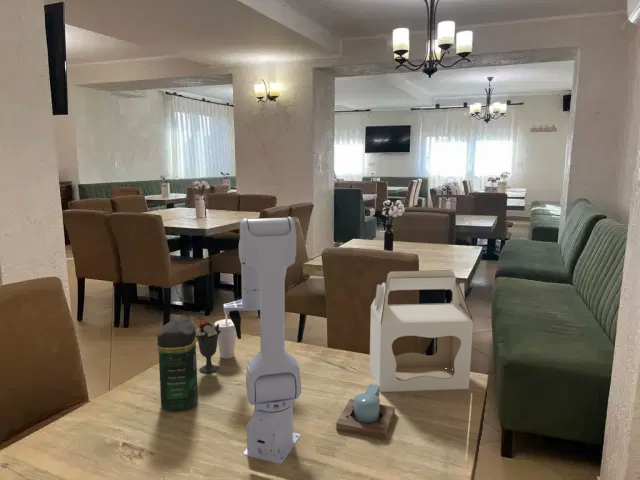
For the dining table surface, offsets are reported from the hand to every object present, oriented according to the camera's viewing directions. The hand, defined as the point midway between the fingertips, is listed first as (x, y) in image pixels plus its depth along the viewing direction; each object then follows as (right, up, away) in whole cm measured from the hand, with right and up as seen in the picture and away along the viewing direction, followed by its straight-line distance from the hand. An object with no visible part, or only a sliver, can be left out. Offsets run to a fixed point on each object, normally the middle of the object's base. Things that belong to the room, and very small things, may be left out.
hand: (253, 334), depth 117 cm
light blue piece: (+27, -14, -19) cm, 36 cm away
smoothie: (-9, -9, +12) cm, 18 cm away
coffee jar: (-15, -13, -12) cm, 23 cm away
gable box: (+41, -11, -1) cm, 43 cm away
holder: (+26, -14, -20) cm, 36 cm away
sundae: (-12, -10, +4) cm, 17 cm away
